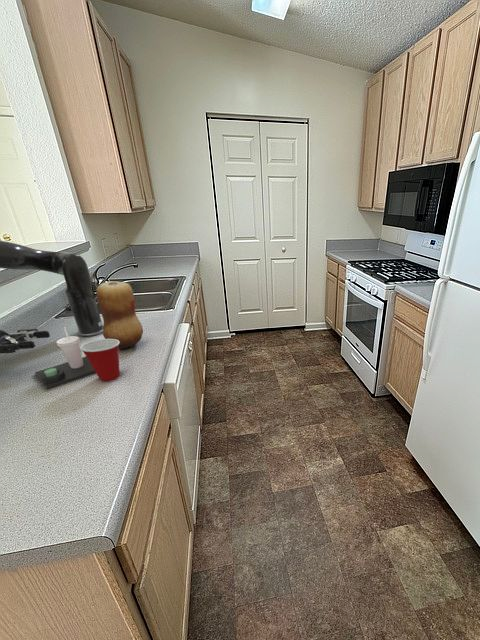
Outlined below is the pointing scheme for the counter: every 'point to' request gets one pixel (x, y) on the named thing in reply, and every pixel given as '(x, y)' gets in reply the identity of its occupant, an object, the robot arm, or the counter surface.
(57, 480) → the counter surface
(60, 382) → the scale
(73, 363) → the smoothie
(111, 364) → the plastic cup
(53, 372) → the button
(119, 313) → the butternut squash
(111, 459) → the counter surface
